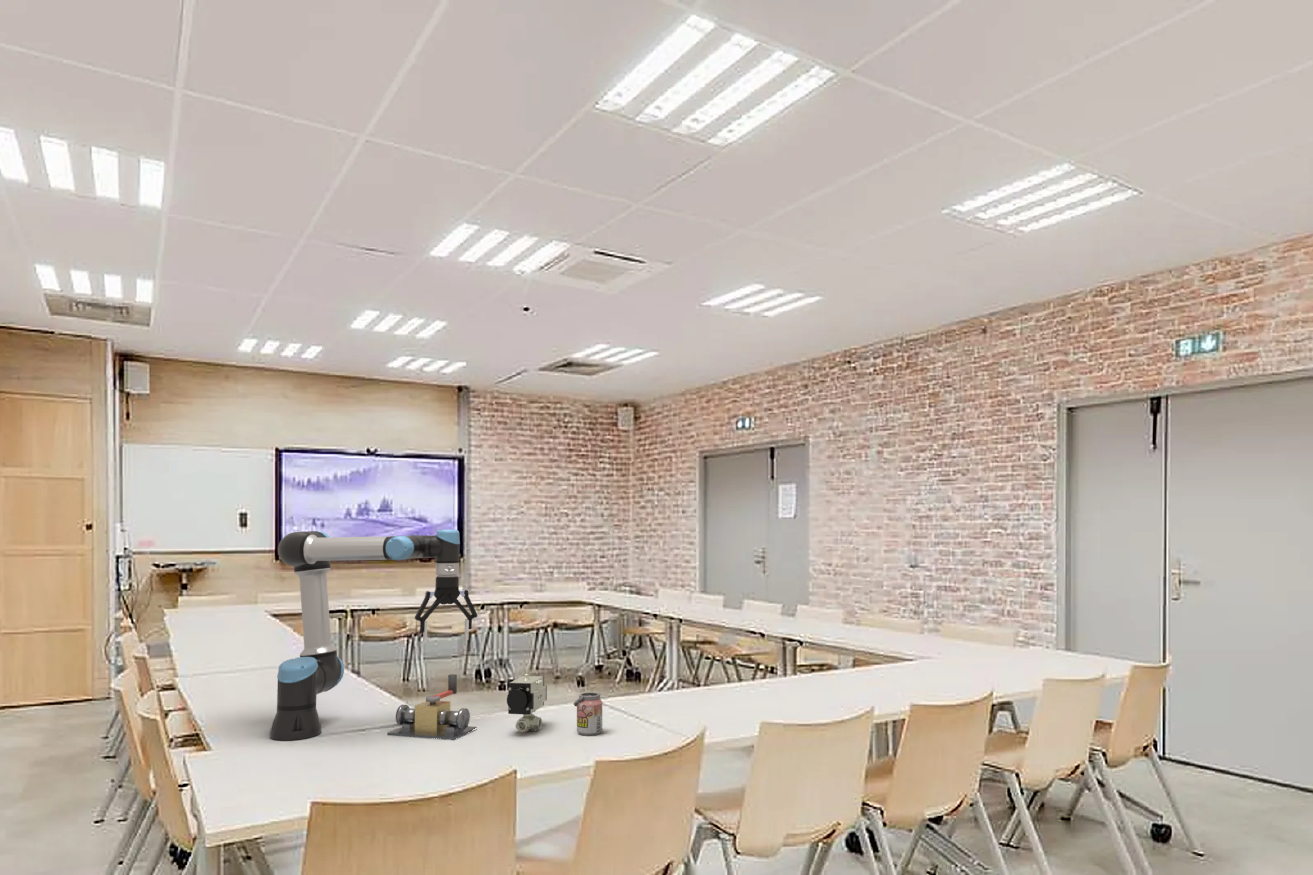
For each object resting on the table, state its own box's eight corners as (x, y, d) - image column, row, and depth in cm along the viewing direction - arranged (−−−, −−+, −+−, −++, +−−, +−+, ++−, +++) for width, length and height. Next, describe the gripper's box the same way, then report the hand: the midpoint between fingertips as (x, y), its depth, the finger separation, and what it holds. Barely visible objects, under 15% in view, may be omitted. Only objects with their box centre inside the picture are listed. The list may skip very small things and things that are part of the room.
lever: (435, 702, 272) (435, 683, 272) (423, 701, 273) (423, 682, 273) (460, 692, 286) (460, 674, 287) (448, 692, 288) (449, 674, 288)
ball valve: (531, 738, 265) (531, 679, 266) (505, 736, 266) (505, 678, 268) (549, 724, 282) (550, 669, 284) (525, 723, 284) (525, 669, 286)
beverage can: (568, 733, 270) (568, 694, 272) (588, 728, 277) (588, 690, 278) (588, 737, 264) (588, 698, 265) (608, 732, 270) (607, 693, 271)
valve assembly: (387, 735, 270) (387, 704, 271) (412, 725, 283) (412, 695, 284) (454, 740, 263) (454, 708, 264) (476, 729, 276) (476, 699, 277)
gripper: (410, 577, 275) (408, 644, 273) (487, 575, 286) (485, 639, 284) (407, 576, 282) (405, 641, 280) (481, 574, 293) (480, 637, 291)
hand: (445, 640), depth 282 cm, fingers open, 13 cm apart
